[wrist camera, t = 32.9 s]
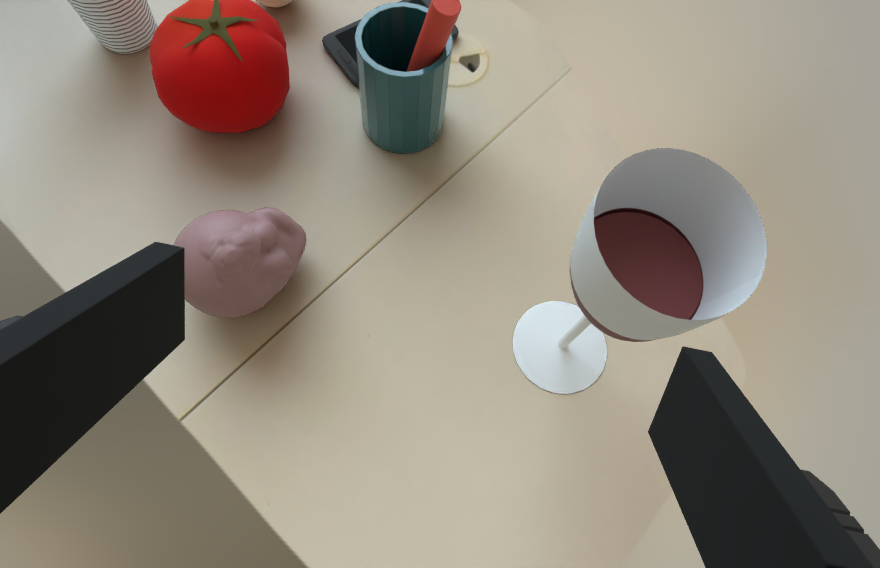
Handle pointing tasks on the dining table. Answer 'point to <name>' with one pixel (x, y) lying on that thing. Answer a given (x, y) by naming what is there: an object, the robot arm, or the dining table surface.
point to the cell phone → (344, 47)
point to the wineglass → (646, 266)
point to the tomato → (220, 65)
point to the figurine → (239, 259)
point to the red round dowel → (434, 33)
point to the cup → (118, 23)
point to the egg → (274, 2)
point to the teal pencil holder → (399, 80)
